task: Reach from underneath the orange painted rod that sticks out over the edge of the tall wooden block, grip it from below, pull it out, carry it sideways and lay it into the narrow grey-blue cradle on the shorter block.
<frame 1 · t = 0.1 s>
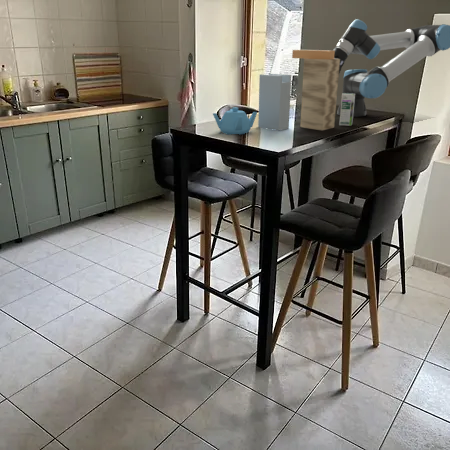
hand: (315, 89, 223), 15 cm above the table, tool tilted 35°, fingers open, 13 cm apart
teapot: (235, 132, 205), on the table
wooden block: (317, 127, 215), on the table
rod: (312, 58, 207), point 30 cm above the table, touching wooden block
syrup box: (345, 125, 221), on the table
cradle: (273, 127, 214), on the table
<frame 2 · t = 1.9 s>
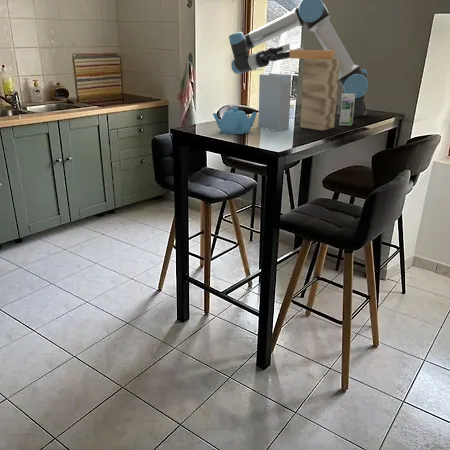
hand: (296, 48, 219), 34 cm above the table, tool pointing upward, fingers open, 13 cm apart
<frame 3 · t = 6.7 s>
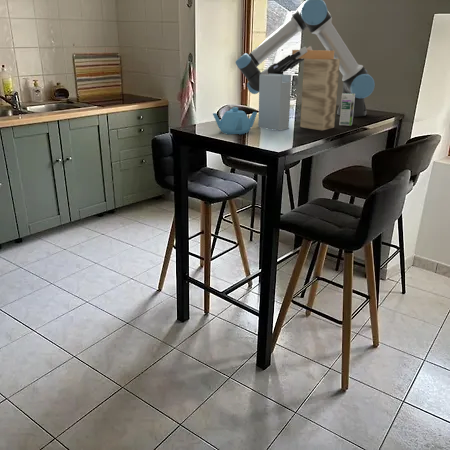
hand: (308, 48, 207), 34 cm above the table, tool pointing upward, fingers closed on rod, 3 cm apart
rod: (312, 58, 207), point 30 cm above the table, touching gripper, wooden block
everything else where it was.
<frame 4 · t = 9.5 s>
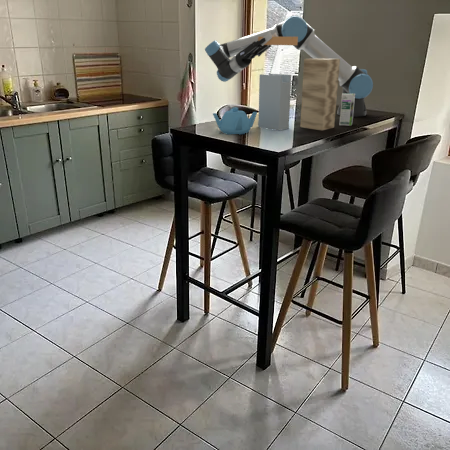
hand: (273, 35, 208), 40 cm above the table, tool pointing upward, fingers closed on rod, 3 cm apart
rod: (277, 45, 208), point 36 cm above the table, touching gripper
everything else where it was.
when the fingers open (26 cm above the table, at t = 12.7 s): rod drops 1 cm, resting on cradle.
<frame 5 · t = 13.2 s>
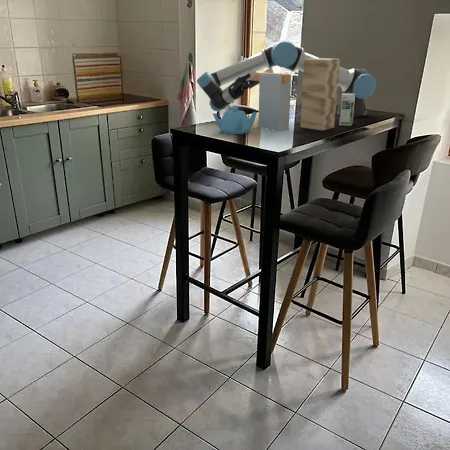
hand: (264, 70, 209), 25 cm above the table, tool pointing upward, fingers open, 11 cm apart
rod: (269, 81, 208), point 20 cm above the table, touching cradle
everything else where it was.
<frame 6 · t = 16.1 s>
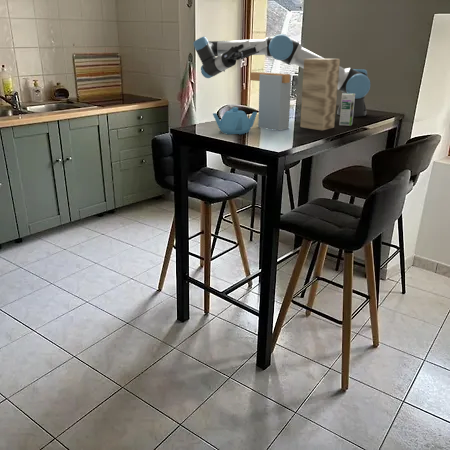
hand: (258, 43, 216), 36 cm above the table, tool pointing upward, fingers open, 13 cm apart
nothing on the table moved.
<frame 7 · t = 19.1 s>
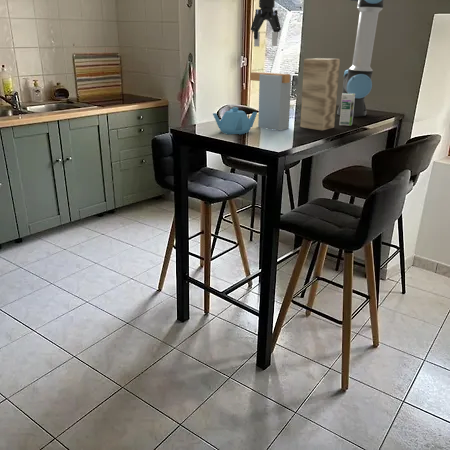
hand: (265, 46, 228), 35 cm above the table, tool pointing down, fingers open, 13 cm apart
nothing on the table moved.
at the end: rod inside the target area on the cradle (0.3 cm from its centre), point 20.5 cm above the cradle's base; the gripper is holding nothing; rod point 20.5 cm above the table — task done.
